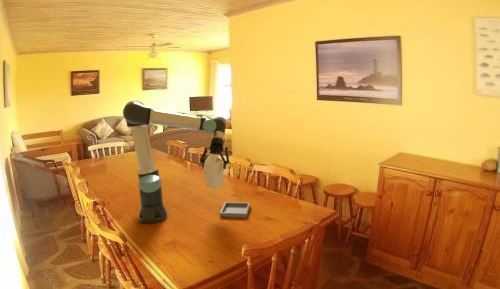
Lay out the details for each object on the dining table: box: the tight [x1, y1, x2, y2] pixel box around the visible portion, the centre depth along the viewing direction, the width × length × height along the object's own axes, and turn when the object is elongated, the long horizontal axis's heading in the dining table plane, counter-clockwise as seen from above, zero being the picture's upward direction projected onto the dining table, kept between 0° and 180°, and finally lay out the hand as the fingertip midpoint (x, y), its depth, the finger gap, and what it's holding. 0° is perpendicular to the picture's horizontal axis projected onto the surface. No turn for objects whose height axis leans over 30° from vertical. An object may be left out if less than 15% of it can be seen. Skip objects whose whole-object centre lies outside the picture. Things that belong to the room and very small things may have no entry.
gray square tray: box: [219, 201, 251, 219], centre depth 175 cm, size 15×15×2 cm
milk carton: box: [205, 153, 224, 190], centre depth 171 cm, size 7×7×19 cm
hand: (213, 173), depth 169 cm, fingers closed on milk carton, 10 cm apart
